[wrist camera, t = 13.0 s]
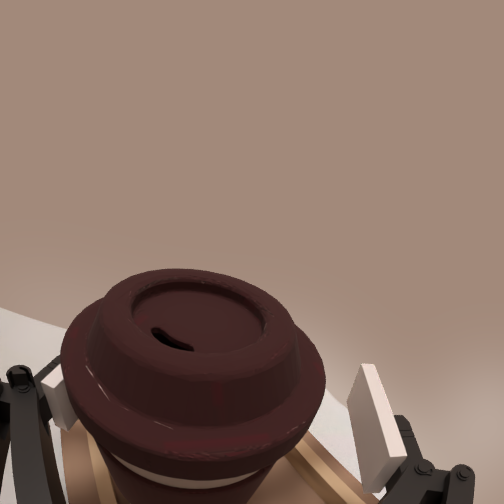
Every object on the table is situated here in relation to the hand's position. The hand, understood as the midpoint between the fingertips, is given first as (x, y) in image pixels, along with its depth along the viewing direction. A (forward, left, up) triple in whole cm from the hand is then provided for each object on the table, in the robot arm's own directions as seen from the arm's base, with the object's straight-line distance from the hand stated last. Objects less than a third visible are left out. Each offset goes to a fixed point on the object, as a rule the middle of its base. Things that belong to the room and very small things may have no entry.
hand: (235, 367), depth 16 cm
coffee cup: (+1, -3, -10) cm, 11 cm away
